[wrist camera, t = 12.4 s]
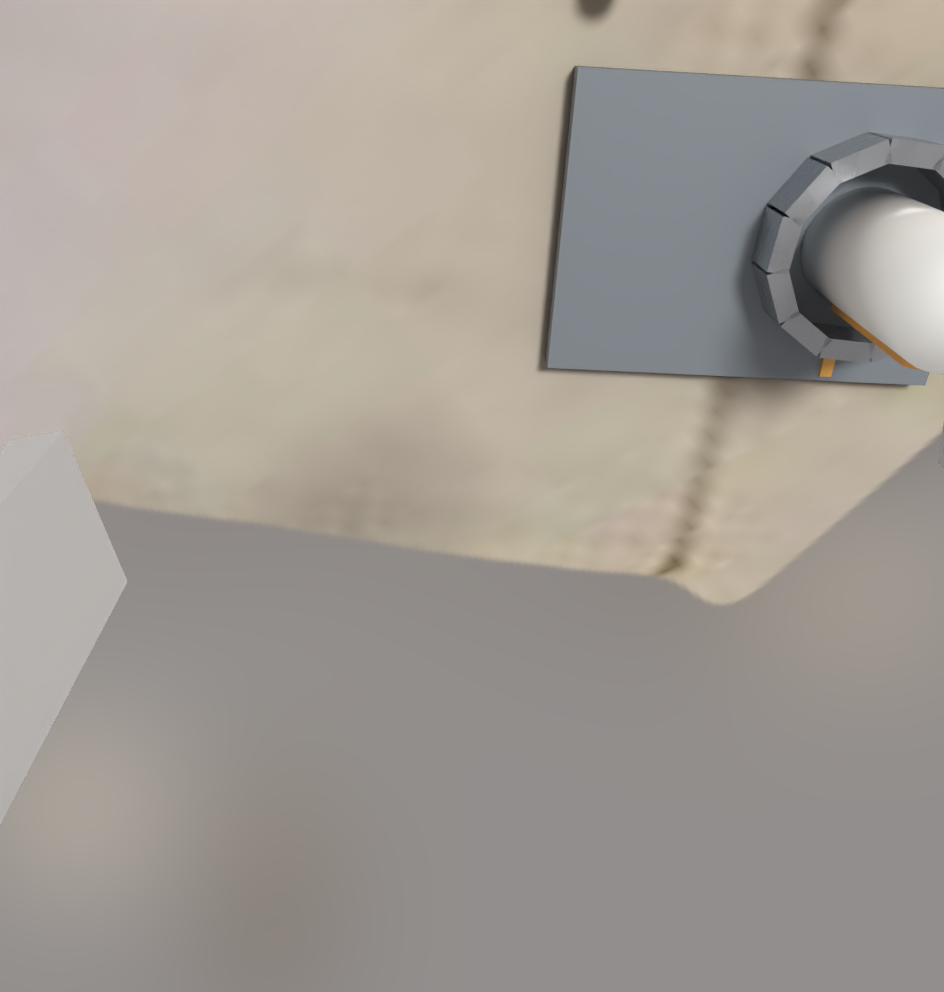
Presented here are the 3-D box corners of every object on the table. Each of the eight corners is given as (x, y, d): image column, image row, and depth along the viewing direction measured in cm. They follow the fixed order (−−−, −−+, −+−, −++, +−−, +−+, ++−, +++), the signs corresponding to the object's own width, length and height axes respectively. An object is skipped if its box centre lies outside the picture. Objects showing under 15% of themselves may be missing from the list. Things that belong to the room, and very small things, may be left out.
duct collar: (711, 266, 42) (725, 279, 40) (870, 85, 38) (895, 90, 36) (847, 380, 45) (866, 399, 43) (1007, 224, 41) (1037, 236, 39)
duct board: (545, 359, 46) (547, 369, 45) (575, 65, 39) (578, 67, 38) (914, 377, 47) (926, 386, 45) (1006, 91, 40) (1024, 93, 38)
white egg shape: (827, 175, 40) (929, 219, 32) (936, 199, 41) (1065, 249, 32) (782, 294, 43) (864, 365, 34) (884, 315, 44) (990, 390, 35)
